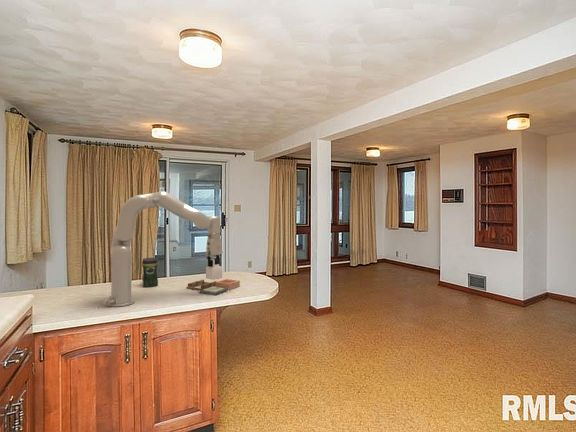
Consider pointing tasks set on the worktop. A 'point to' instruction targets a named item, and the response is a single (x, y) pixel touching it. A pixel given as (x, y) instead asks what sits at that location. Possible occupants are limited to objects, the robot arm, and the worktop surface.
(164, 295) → the worktop surface
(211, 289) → the tester pad
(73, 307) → the worktop surface
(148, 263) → the coffee jar
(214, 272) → the medicine bottle
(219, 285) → the reddish brown square tray
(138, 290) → the worktop surface
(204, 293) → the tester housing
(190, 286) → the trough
